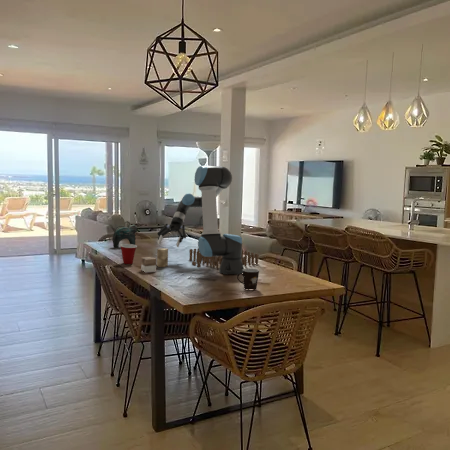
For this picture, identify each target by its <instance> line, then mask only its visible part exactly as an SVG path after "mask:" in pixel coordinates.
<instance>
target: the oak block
mask: <svg viewBox="0 0 450 450" xmlns="http://www.w3.org/2000/svg"><path fill="white" fill-rule="evenodd" d="M156 250H157V251H156V252H157V253H156V267H157V266H158V267H159V268H166V267H168V265H169V263H168V262H169V248H164V247H163V248H162V247H160V248H157V249H156ZM158 267H157V268H158Z"/></svg>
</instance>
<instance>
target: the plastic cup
mask: <svg viewBox="0 0 450 450" xmlns="http://www.w3.org/2000/svg"><path fill="white" fill-rule="evenodd" d="M119 246H120V249H121V257H122V262H123V264H125V265H132V264H133V263H134V258H135V252H136V250H137V247H138V245H136V244H135V245H133V244H130V243H121V244H119Z"/></svg>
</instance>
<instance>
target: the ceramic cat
mask: <svg viewBox="0 0 450 450" xmlns="http://www.w3.org/2000/svg"><path fill="white" fill-rule="evenodd" d="M126 223H127V221H125V222H124V224H126ZM137 232H138V228H137V226H136V225H135V223H133V224H132V225H131V224H130V223H128V224H127V226H122V225H119V226H118V227H116V228H115V229H114V233H113V234H112V245H113V248H114V249H119V246H120V242H121V241H123V240H126V239H127V241H128V242H129V244H133V245H136V233H137Z"/></svg>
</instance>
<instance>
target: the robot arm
mask: <svg viewBox="0 0 450 450" xmlns="http://www.w3.org/2000/svg"><path fill="white" fill-rule="evenodd" d="M232 182H233V175H232V172H231V171H230V170H229V169H228V168H227V167H226V166H221V165H220V166H219V165H218V166H217V165H199V166H198V167H197V168H196V171H195V173H194V184H195V185H196V186H198V190H199V191H200V192H201V193H200V194H201V195H198V196H197V195H196V196H195V195H193V194H191V193H185V194H184V195H183V196H182V198H181V200H180V201H179V203H178V205H177V208H176V210H175V212H174V214H173V217H172V219H171V221H170V224H168V223H166V224H165V225H164V226H163V227H162V228H161V229H160V230H159V231H158V232H157V235H158V237H157V242H156V243H157V245H158V246H160V245H161V243H162V242H163V238H164V236H166V235H167V234H169V233H171V232H176V233H178V234H179V236H178V239H177V241H176V245H175V246H176V247H177V248H179V246H180V244H181V243H182V242H183V239H187V234H186V226H185V225H184V224H183V223H184V221H185V219H186V215H188V211H189V210H190V209H191V208H202V225H203V227H202V228H203V231H202V233H201V234H200V237H199V238H198V239H197V249H198V248H199V251H200V253H201V255H203V256H205V257H213V256H222V262H221V265H219V267H218V272H219V274H222V273H223V275H228V274H240V273H243V269H245V268H244V267H245V266H244V264H242V260H241V258H242V250H243V238H242V236H240V235H237V234H233V233H232V234H231V233H223V234H222V233H221V232H220V230H219V226H218V209H217V207H218V206H217V197H218V196H219V194H221V193H222V191H224V190H225V189H227V188H229V186H230V185H231V184H232ZM180 230H182V233H181V231H180ZM221 234H222V236H221ZM240 275H241V274H240Z"/></svg>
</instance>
